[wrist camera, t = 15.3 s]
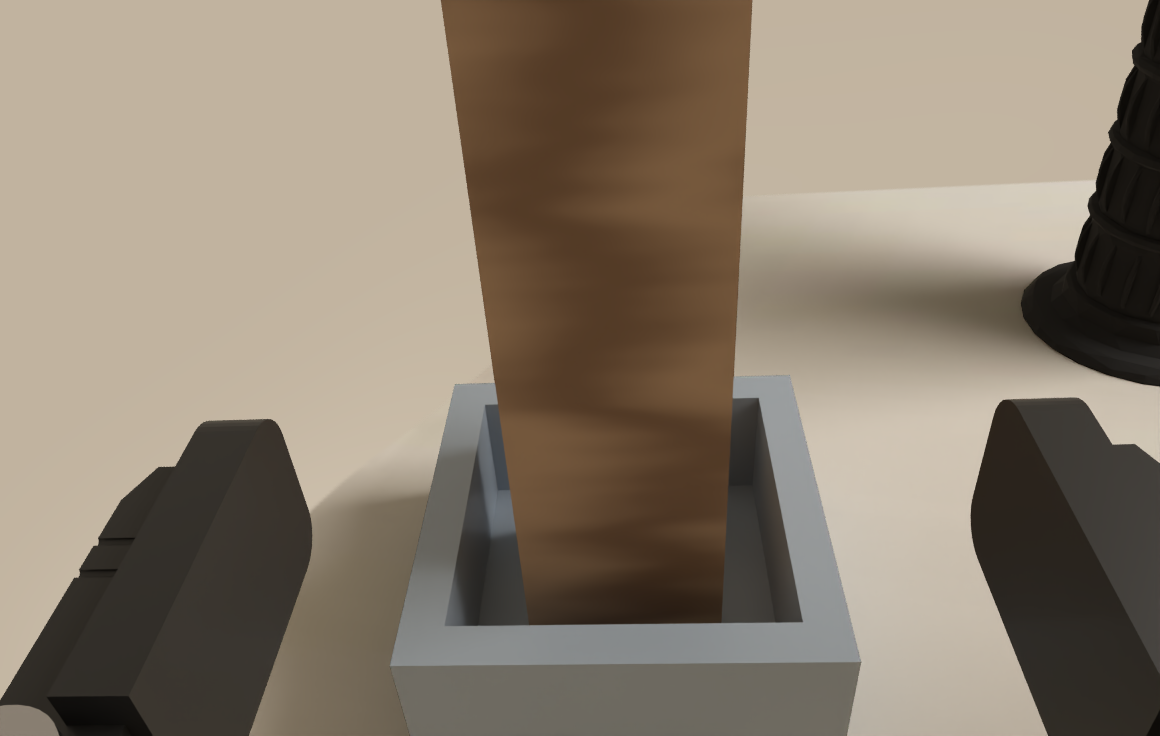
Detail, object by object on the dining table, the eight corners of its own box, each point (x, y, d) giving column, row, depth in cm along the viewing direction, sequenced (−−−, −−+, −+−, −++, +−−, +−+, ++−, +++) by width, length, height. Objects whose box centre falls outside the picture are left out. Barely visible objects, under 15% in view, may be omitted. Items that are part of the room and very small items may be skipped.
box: (779, 481, 35) (789, 375, 32) (839, 774, 26) (861, 661, 23) (472, 488, 36) (454, 384, 33) (421, 774, 26) (389, 666, 23)
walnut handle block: (703, 524, 32) (722, -127, 20) (719, 660, 28) (755, -73, 16) (543, 529, 32) (470, -112, 20) (534, 663, 28) (433, -55, 16)
